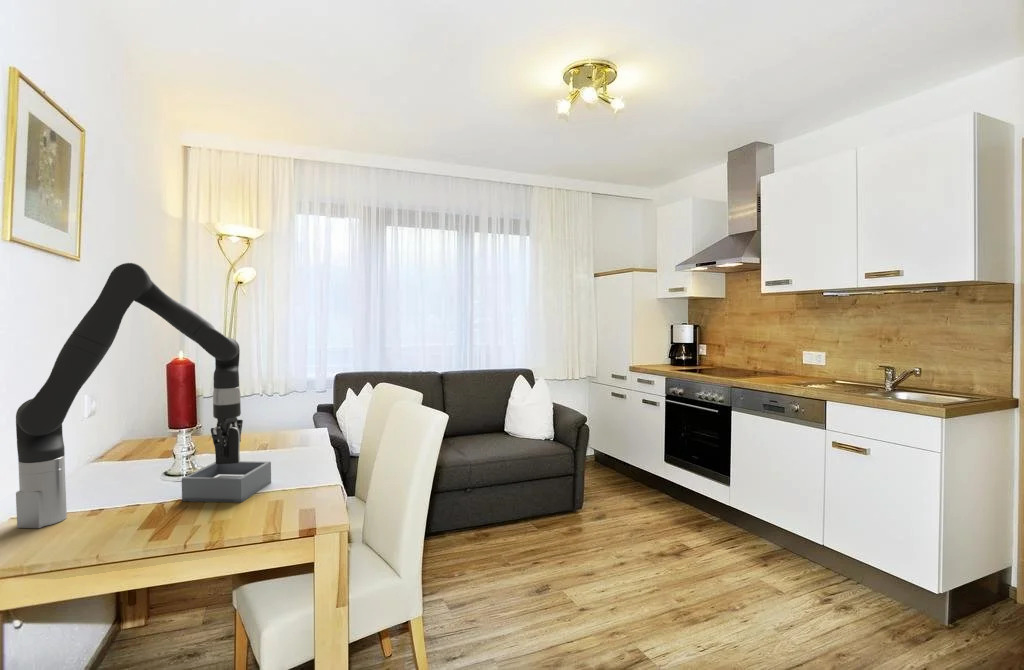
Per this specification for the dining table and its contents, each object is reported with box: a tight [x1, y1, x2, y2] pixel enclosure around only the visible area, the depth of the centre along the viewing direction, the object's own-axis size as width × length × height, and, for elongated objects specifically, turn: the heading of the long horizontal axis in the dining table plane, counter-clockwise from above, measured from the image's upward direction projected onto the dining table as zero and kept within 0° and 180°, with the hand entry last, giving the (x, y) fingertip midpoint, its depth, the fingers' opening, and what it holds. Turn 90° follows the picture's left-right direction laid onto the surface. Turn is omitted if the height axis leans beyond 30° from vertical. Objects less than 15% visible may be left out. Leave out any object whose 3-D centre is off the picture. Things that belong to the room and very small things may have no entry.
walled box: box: [181, 460, 272, 503], centre depth 164 cm, size 18×18×7 cm
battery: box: [214, 426, 242, 464], centre depth 164 cm, size 7×4×11 cm, turn 102°
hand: (228, 455), depth 164 cm, fingers closed on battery, 4 cm apart
